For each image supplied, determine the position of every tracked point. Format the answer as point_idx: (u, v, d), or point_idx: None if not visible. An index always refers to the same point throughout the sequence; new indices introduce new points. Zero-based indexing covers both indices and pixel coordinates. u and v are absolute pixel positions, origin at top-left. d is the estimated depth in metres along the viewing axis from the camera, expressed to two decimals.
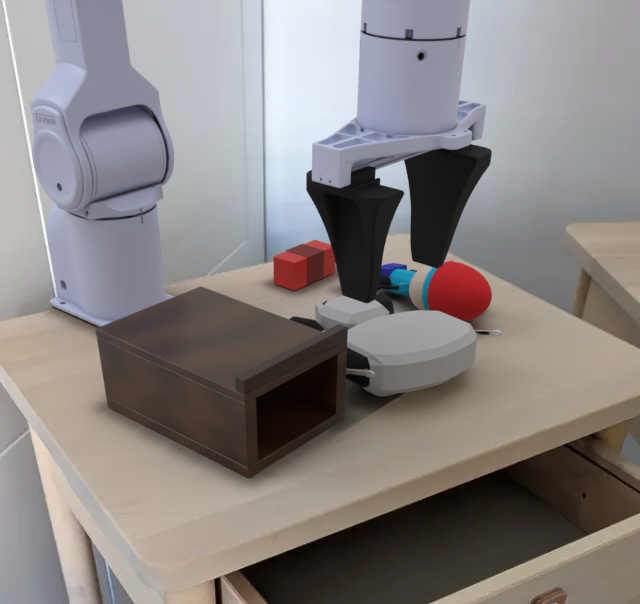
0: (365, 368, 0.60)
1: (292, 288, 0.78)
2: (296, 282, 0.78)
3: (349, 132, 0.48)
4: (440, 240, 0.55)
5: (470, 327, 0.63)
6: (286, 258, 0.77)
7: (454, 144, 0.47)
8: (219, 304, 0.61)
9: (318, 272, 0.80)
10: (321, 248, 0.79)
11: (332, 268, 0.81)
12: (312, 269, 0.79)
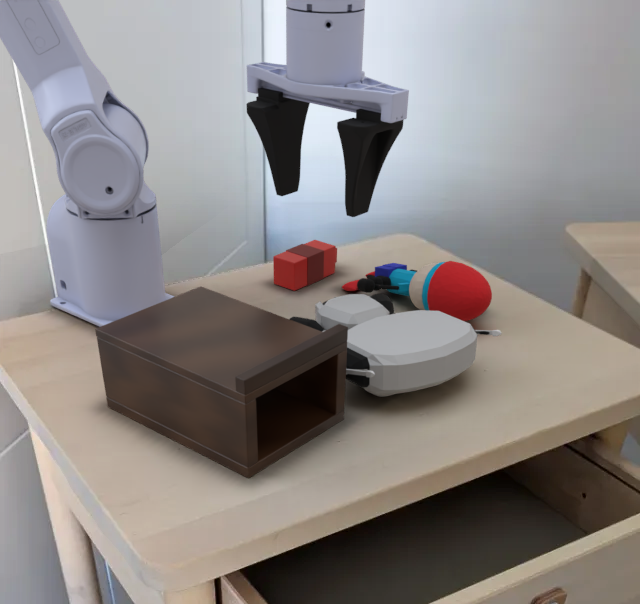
0: (365, 368, 0.60)
1: (292, 288, 0.78)
2: (296, 282, 0.78)
3: None
4: (296, 168, 0.72)
5: (470, 327, 0.63)
6: (286, 258, 0.77)
7: None
8: (219, 304, 0.61)
9: (318, 272, 0.80)
10: (321, 248, 0.79)
11: (332, 268, 0.81)
12: (312, 269, 0.79)
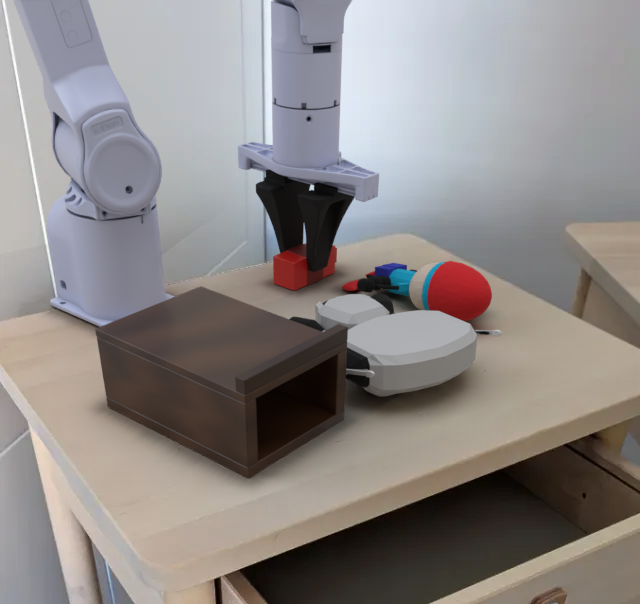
0: (365, 368, 0.60)
1: (292, 288, 0.78)
2: (296, 282, 0.78)
3: None
4: (300, 238, 0.80)
5: (470, 327, 0.63)
6: (286, 258, 0.77)
7: (340, 156, 0.76)
8: (219, 304, 0.61)
9: (318, 272, 0.80)
10: None
11: (332, 268, 0.81)
12: None
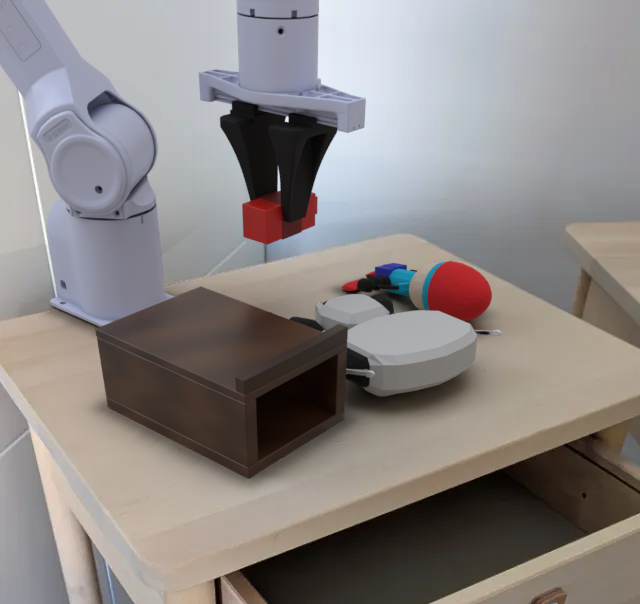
0: (365, 368, 0.60)
1: (265, 241, 0.67)
2: (269, 234, 0.66)
3: None
4: (274, 184, 0.68)
5: (470, 327, 0.63)
6: (257, 206, 0.66)
7: (320, 84, 0.64)
8: (219, 304, 0.61)
9: (295, 224, 0.68)
10: None
11: (312, 219, 0.70)
12: None
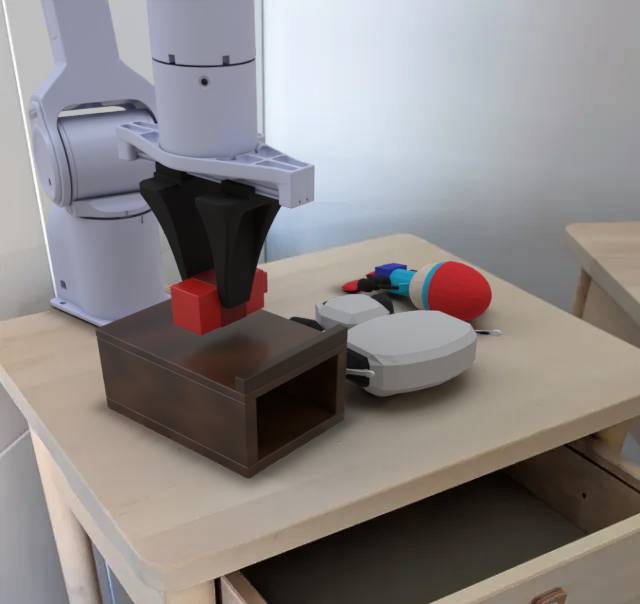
0: (365, 368, 0.60)
1: (198, 332, 0.54)
2: (203, 323, 0.54)
3: None
4: (211, 259, 0.56)
5: (470, 327, 0.63)
6: (188, 289, 0.53)
7: None
8: None
9: (238, 308, 0.56)
10: None
11: (260, 301, 0.57)
12: None
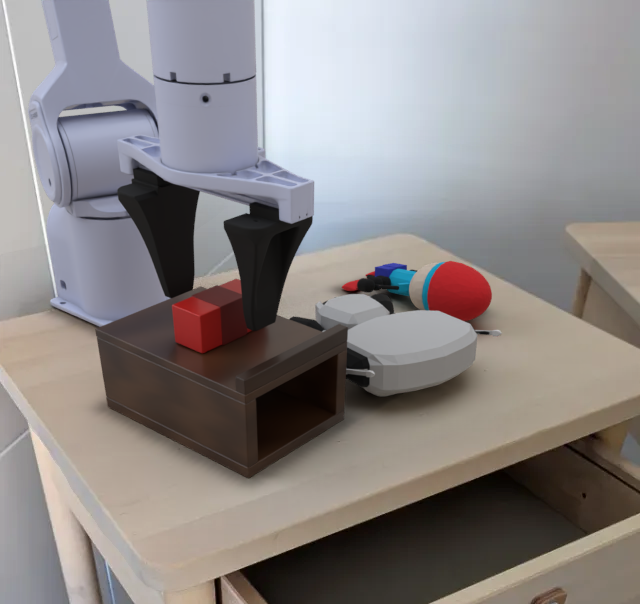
0: (365, 368, 0.60)
1: (199, 350, 0.55)
2: (205, 342, 0.55)
3: None
4: (189, 263, 0.57)
5: (470, 327, 0.63)
6: (189, 308, 0.54)
7: (264, 155, 0.52)
8: None
9: (239, 326, 0.56)
10: None
11: None
12: (228, 323, 0.56)
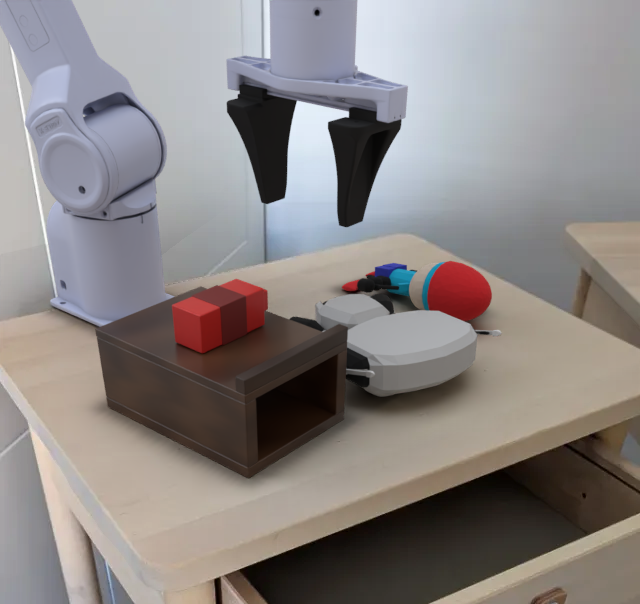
0: (365, 368, 0.60)
1: (199, 350, 0.55)
2: (205, 342, 0.55)
3: None
4: (283, 173, 0.65)
5: (470, 327, 0.63)
6: (189, 308, 0.54)
7: None
8: None
9: (239, 326, 0.56)
10: (242, 293, 0.56)
11: (261, 318, 0.58)
12: (228, 323, 0.56)
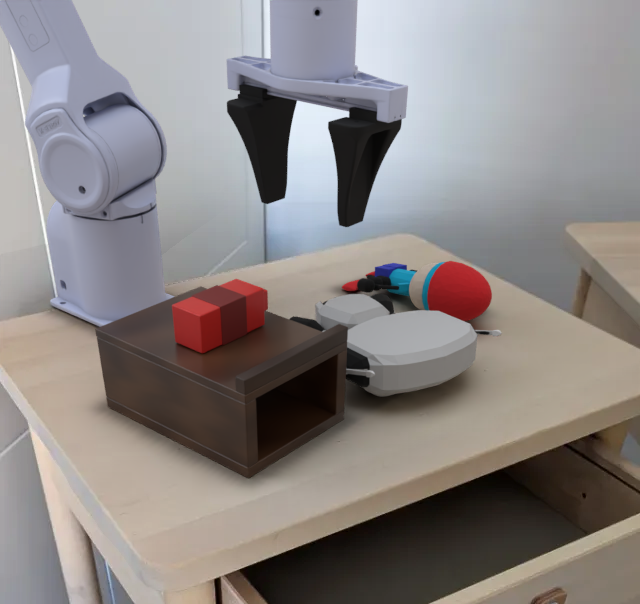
0: (365, 368, 0.60)
1: (199, 350, 0.55)
2: (205, 342, 0.55)
3: None
4: (283, 173, 0.65)
5: (470, 327, 0.63)
6: (189, 308, 0.54)
7: None
8: None
9: (239, 326, 0.56)
10: (242, 293, 0.56)
11: (261, 318, 0.58)
12: (228, 323, 0.56)
